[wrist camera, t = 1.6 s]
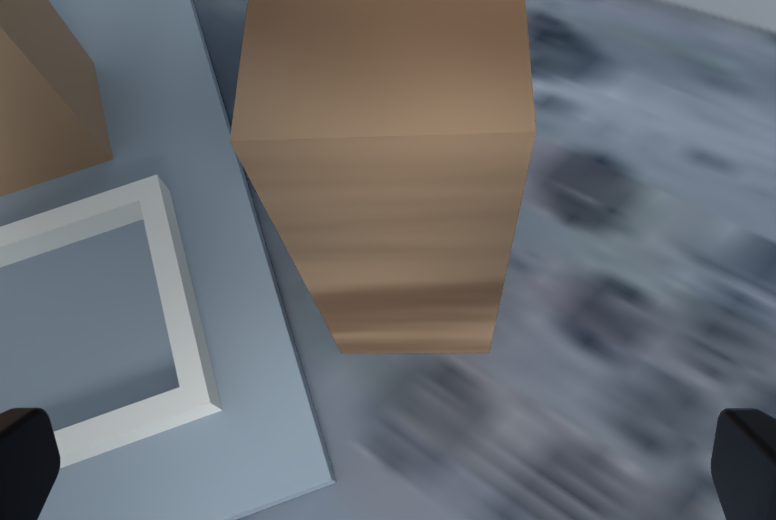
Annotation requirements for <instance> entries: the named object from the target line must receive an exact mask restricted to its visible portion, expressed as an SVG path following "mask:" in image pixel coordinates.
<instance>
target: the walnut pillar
mask: <svg viewBox="0 0 776 520" xmlns="http://www.w3.org/2000/svg"><path fill="white" fill-rule="evenodd" d="M535 135H536V124H535V112H534V100H533V88H532V76H531V64H530V52H529V40H528V29H527V17H526V5H525V0H248V3H247V11H246V19H245V27H244V34H243V42H242V50H241V57H240V65H239V73H238V80H237V88H236V96H235V103H234V111H233V119H232V126H231V134H230V143H231V145H232V147H233V149H234V151H235V152H236V154H237V156H238V158H239V160H240V162H241V164H242V166H243V168H244V169H245V171H246V173H247V175H248V177H249V179H250V181H251V183H252V185H253V187H254V188H255V190H256V192H257V194H258V196H259V198H260V200H261V202H262V204H263V205H264V207H265V209H266V211H267V213H268V215H269V217H270V219H271V221H272V222H273V224H274V226H275V228H276V230H277V232H278V234H279V236H280V238H281V239H282V241H283V243H284V245H285V247H286V249H287V251H288V253H289V255H290V256H291V258H292V260H293V262H294V264H295V266H296V268H297V270H298V272H299V273H300V275H301V277H302V279H303V281H304V283H305V285H306V287H307V289H308V291H309V292H310V294H311V296H312V298H313V300H314V302H315V304H316V306H317V308H318V309H319V311H320V313H321V315H322V317H323V319H324V321H325V323H326V325H327V326H328V328H329V330H330V332H331V334H332V336H333V338H334V340H335V342H336V343H337V345H338V347H339V349H340V351H341V353H489V352H490V347H491V342H492V337H493V333H494V328H495V323H496V319H497V314H498V309H499V304H500V300H501V295H502V290H503V286H504V281H505V276H506V271H507V267H508V262H509V257H510V253H511V248H512V243H513V238H514V234H515V229H516V224H517V220H518V215H519V210H520V205H521V201H522V196H523V191H524V187H525V182H526V177H527V172H528V168H529V163H530V158H531V154H532V149H533V144H534V139H535Z"/></svg>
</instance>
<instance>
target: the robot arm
mask: <svg viewBox="0 0 776 520" xmlns="http://www.w3.org/2000/svg"><path fill="white" fill-rule="evenodd" d="M60 463H61V462H60V453H59V450H58V446H57V442H56V439H55V435H54V431H53V428H52V424H51V420H50V417H49V415H48V413H47V412H46V411H45V410H44V409H42V408H22V407H16V408H12V409H9V410H7V411H5V412H2V413H0V520H38V518H39V516H40V513H41V511H42V509H43V507H44V505H45V503H46V500H47V498H48V496H49V494H50V492H51V489H52V487H53V485H54V483H55V481H56V479H57V476H58V473H59V470H60ZM711 473H712V478H713V482H714V485H715V488H716V491H717V494H718V497H719V500H720V503H721V506H722V508H723V511H724V514H725V517H726V520H776V419H775V418H773V417H771V416H769V415H768V414H766V413H764V412H762V411H760V410H758V409H754V408H727V409H724V410H723V411H722V412H721V413H720V415H719V417H718V421H717V427H716V433H715V440H714V446H713V452H712V458H711Z"/></svg>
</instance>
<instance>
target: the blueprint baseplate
mask: <svg viewBox="0 0 776 520" xmlns="http://www.w3.org/2000/svg"><path fill="white" fill-rule="evenodd" d="M230 134H231V127H230V123H229V120H228V117H227V113H226V110H225V107H224V103H223V100H222V97H221V93H220V90H219V86H218V83H217V80H216V76H215V73H214V70H213V66H212V63H211V60H210V56H209V53H208V50H207V46H206V43H205V39H204V36H203V33H202V29H201V26H200V23H199V19H198V16H197V13H196V9H195V6H194V3H193V0H0V413H2V412H5V411H7V410H9V409H12V408H16V407H22V408H42V409H44V410H45V411H46V412H47V413H48V415H49V417H50V420H51V424H52V428H53V431H54V435H55V439H56V442H57V446H58V450H59V453H60V462H61V463H60V470H59V473H58V476H57V479H56V481H55V483H54V485H53V487H52V489H51V492H50V494H49V496H48V498H47V500H46V503H45V505H44V507H43V509H42V511H41V513H40V516H39V518H38V520H237V519H239V518H242V517H245V516H247V515H250V514H253V513H256V512H258V511H261V510H264V509H266V508H269V507H272V506H275V505H277V504H280V503H283V502H285V501H288V500H291V499H294V498H296V497H299V496H302V495H304V494H307V493H310V492H313V491H315V490H318V489H321V488H323V487H326V486H329V485H331V484H334V483H336V479H335V476H334V473H333V469H332V466H331V463H330V459H329V456H328V453H327V449H326V446H325V443H324V439H323V436H322V432H321V429H320V426H319V422H318V419H317V416H316V412H315V409H314V406H313V402H312V399H311V396H310V392H309V389H308V385H307V382H306V379H305V375H304V372H303V369H302V365H301V362H300V359H299V355H298V352H297V348H296V345H295V342H294V338H293V335H292V332H291V328H290V325H289V322H288V318H287V315H286V312H285V308H284V305H283V301H282V298H281V295H280V291H279V288H278V285H277V281H276V278H275V275H274V271H273V268H272V265H271V261H270V258H269V254H268V251H267V248H266V244H265V241H264V238H263V234H262V231H261V228H260V224H259V221H258V217H257V214H256V211H255V207H254V204H253V201H252V197H251V194H250V191H249V187H248V184H247V181H246V177H245V174H244V170H243V167H242V164H241V162H240V160H239V158H238V156H237V154H236V152H235V151H234V149H233V147H232V145H231V143H230Z"/></svg>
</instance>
